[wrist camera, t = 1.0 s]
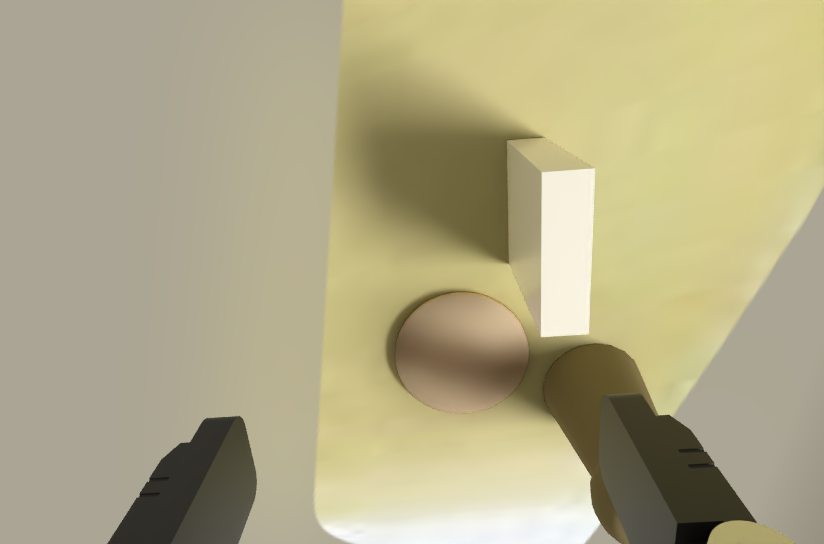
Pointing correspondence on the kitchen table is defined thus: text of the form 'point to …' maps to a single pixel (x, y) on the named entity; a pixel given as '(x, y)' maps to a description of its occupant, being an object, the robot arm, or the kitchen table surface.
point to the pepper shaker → (591, 410)
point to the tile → (551, 233)
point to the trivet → (461, 352)
